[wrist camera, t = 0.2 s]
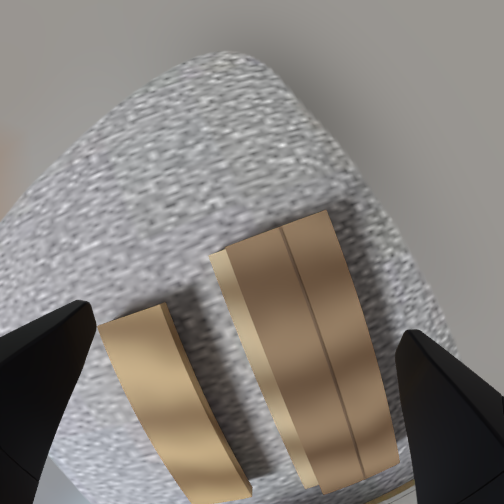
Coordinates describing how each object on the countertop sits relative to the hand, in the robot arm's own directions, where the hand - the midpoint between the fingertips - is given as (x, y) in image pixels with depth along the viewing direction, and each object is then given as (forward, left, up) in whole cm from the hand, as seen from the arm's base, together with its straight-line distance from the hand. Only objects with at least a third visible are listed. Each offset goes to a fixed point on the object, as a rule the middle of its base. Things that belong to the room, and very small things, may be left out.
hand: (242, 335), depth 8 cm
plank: (-8, +9, -15) cm, 19 cm away
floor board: (-8, -3, -14) cm, 16 cm away
